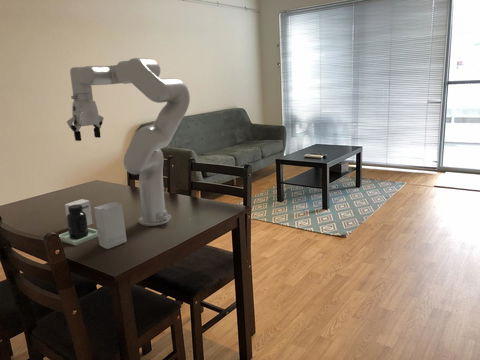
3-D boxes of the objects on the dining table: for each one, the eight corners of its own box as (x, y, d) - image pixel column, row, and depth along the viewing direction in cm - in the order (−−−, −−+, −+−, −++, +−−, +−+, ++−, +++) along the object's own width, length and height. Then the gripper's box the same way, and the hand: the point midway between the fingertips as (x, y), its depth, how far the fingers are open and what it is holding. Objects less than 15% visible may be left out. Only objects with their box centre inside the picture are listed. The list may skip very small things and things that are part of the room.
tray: (102, 235, 155) (101, 231, 155) (75, 245, 146) (75, 242, 145) (83, 229, 161) (82, 226, 161) (56, 239, 152) (56, 236, 151)
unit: (93, 223, 167) (90, 200, 165) (76, 230, 161) (72, 206, 158) (84, 221, 170) (81, 198, 168) (67, 227, 164) (64, 204, 161)
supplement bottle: (65, 239, 151) (60, 208, 148) (77, 232, 157) (72, 202, 154) (81, 240, 149) (77, 209, 146) (92, 233, 155) (88, 203, 152)
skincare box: (118, 238, 151) (114, 200, 147) (127, 242, 147) (123, 203, 143) (98, 245, 145) (93, 206, 141) (106, 250, 141) (101, 209, 137)
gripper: (70, 99, 158) (76, 142, 163) (106, 96, 172) (110, 136, 177) (58, 99, 162) (64, 141, 167) (94, 96, 176) (99, 135, 181)
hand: (88, 139), depth 172 cm, fingers open, 9 cm apart
